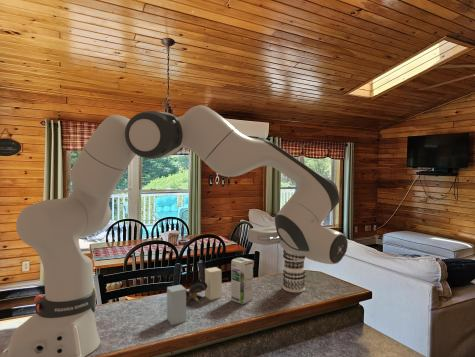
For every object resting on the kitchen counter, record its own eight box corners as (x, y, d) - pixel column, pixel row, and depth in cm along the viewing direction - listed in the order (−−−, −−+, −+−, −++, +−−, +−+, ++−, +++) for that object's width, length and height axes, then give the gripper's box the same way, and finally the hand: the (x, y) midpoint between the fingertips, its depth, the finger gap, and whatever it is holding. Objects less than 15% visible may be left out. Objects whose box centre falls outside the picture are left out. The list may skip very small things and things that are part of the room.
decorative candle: (306, 285, 129) (307, 223, 128) (305, 293, 120) (305, 227, 119) (284, 283, 131) (284, 222, 131) (280, 291, 123) (281, 226, 122)
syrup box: (230, 300, 114) (230, 259, 114) (241, 295, 118) (241, 256, 118) (242, 305, 110) (242, 263, 110) (253, 300, 114) (253, 259, 114)
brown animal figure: (201, 304, 108) (212, 290, 116) (189, 286, 108) (201, 274, 116) (185, 312, 111) (197, 298, 119) (173, 295, 111) (186, 282, 119)
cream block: (210, 300, 114) (210, 272, 114) (205, 295, 118) (205, 268, 118) (221, 297, 116) (221, 270, 116) (215, 293, 120) (216, 267, 120)
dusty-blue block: (171, 325, 96) (171, 291, 95) (167, 319, 100) (167, 287, 99) (186, 321, 98) (185, 289, 98) (180, 315, 102) (180, 284, 102)
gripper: (264, 253, 83) (237, 242, 95) (322, 244, 93) (291, 235, 105) (264, 229, 83) (237, 221, 95) (322, 222, 93) (291, 216, 105)
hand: (266, 229), depth 100 cm, fingers closed
